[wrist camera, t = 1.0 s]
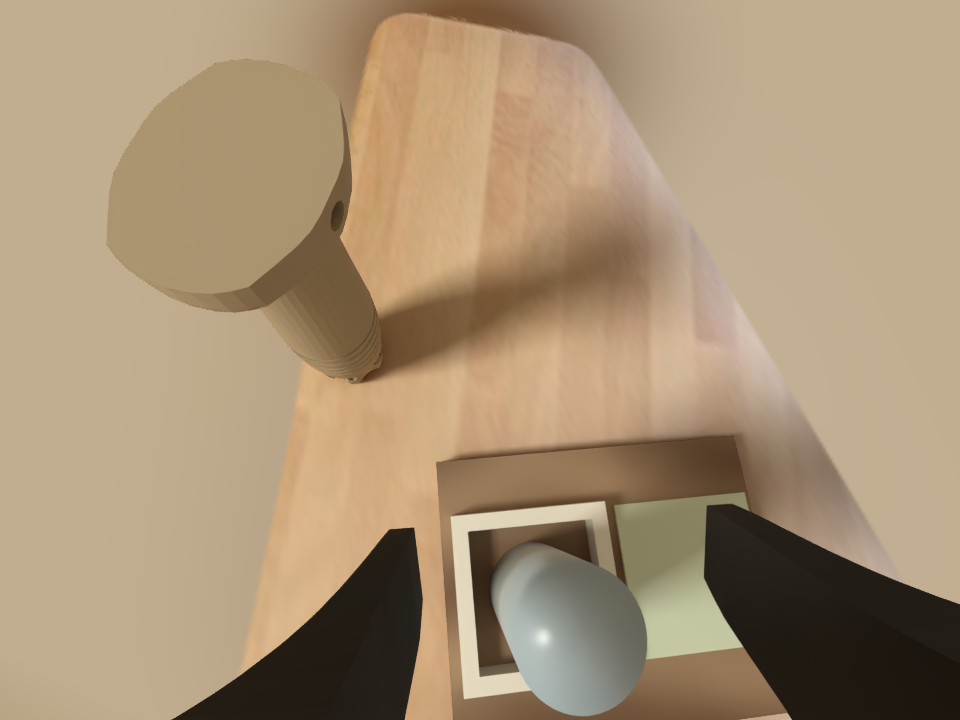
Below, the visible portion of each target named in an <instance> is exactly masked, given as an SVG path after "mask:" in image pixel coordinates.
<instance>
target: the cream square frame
mask: <svg viewBox="0 0 960 720" xmlns="http://www.w3.org/2000/svg"><path fill="white" fill-rule="evenodd" d="M577 520H585V522H586V529H587V535H588V542H589V549H590V556H591V563H592V564H594V565H596V566H599V567H601V568H603V569H605V570H607V571H609V572H611V573H612V574H613V575H615V576H616V577H617V575H616V569H615V562H614V556H613V550H612V544H611V537H610V531H609V525H608V518H607V512H606V506H605V501H595V502H585V503H575V504H565V505H555V506H545V507H534V508H524V509H514V510H504V511H494V512H484V513H474V514H464V515H454V516H451V528H452V542H453V556H454V570H455V584H456V597H457V611H458V625H459V639H460V653H461V667H462V681H463V694H464V699H470V698H477V697H485V696H492V695H500V694H508V693H515V692H523V691H530V690H531V689H530V688H529V687H528V685H527V684H526V683H525V681H524V679H523V677H522V675H521V673H520V671H519V669H518V666H517V664H516V663H509V664H501V665H493V666H486V667H479V663H478V651H477V639H476V626H475V614H474V602H473V589H472V577H471V565H470V552H469V540H468V532H469V531H479V530H488V529H498V528H508V527H518V526H528V525H537V524H547V523H557V522H567V521H577Z"/></svg>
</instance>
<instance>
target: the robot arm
mask: <svg viewBox="0 0 960 720" xmlns="http://www.w3.org/2000/svg"><path fill="white" fill-rule="evenodd" d="M704 579H705V581H706V583H707V586H708V588H709V590H710V592H711V594H712V596H713V598H714V600H715V602H716V604H717V606H718V607H719V609H720V611H721V613H722V615H723V617H724V619H725V620H726V622H727V623H728V625H729V626H730V628H731V629H732V631H733V632H734V634H735V635H736V637H737V638H738V640H739V641H740V643H741V644H742V646H743V647H744V649H745V650H746V652H747V653H748V655H749V656H750V658H751V659H752V661H753V662H754V664H755V665H756V667H757V668H758V670H759V671H760V673H761V674H762V675H763V677H764V678H765V680H766V681H767V683H768V684H769V686H770V687H771V689H772V690H773V692H774V693H775V695H776V696H777V698H778V699H779V701H780V702H781V704H782V705H783V706H784V708H785V709H786V711H787V712H788V714H789V716H790V717H791V719H792V720H960V604H957V603H954V602H952V601H949V600H946V599H943V598H940V597H937V596H935V595H932V594H929V593H927V592H924V591H921V590H919V589H916V588H914V587H911V586H909V585H906V584H903V583H901V582H898V581H896V580H893V579H891V578H888V577H886V576H884V575H881V574H879V573H876V572H874V571H872V570H870V569H867V568H865V567H863V566H861V565H858V564H856V563H854V562H852V561H850V560H847V559H845V558H843V557H841V556H839V555H837V554H834V553H832V552H830V551H828V550H826V549H824V548H822V547H820V546H818V545H816V544H814V543H812V542H810V541H808V540H806V539H804V538H802V537H800V536H798V535H796V534H794V533H792V532H790V531H788V530H786V529H784V528H782V527H780V526H778V525H776V524H774V523H772V522H770V521H768V520H766V519H764V518H762V517H760V516H758V515H756V514H754V513H752V512H750V511H748V510H746V509H743V508H741V507H739V506H736V505H734V504H719V505H707V509H706V533H705V557H704ZM422 602H423V597H422V589H421V580H420V572H419V564H418V555H417V547H416V539H415V531H414V528H402V529H390V530H389V531H388V532H387V533H386V534H385V535H384V536H383V538H382V539H381V540H380V541H379V542H378V544H377V545H376V546H375V547H374V549H373V550H372V551H371V552H370V554H369V555H368V556H367V557H366V559H365V560H364V561H363V562H362V563H361V565H360V566H359V567H358V568H357V569H356V570H355V572H354V573H353V574H352V575H351V576H350V577H349V579H348V580H347V581H346V582H345V583H344V584H343V586H342V587H341V588H340V589H339V590H338V591H337V592H336V593H335V594H334V595H333V596H332V597H331V598H330V599H329V600H328V601H327V602H326V604H325V605H324V606H323V607H322V608H321V609H320V610H319V611H318V612H317V613H316V614H315V615H314V616H313V617H312V618H310V619H309V620H308V621H307V622H306V623H305V624H304V625H303V626H302V627H301V628H299V629H298V630H297V631H296V632H295V633H294V634H293V635H291V636H290V637H289V638H288V639H287V640H286V641H284V642H283V643H282V644H281V645H280V646H278V647H277V648H276V649H274V650H273V651H272V652H271V653H269V654H268V655H267V656H265V657H264V658H263V659H261V660H260V661H259V662H257V663H256V664H255V665H253V666H252V667H251V668H250V669H248V670H247V671H246V672H244V673H243V674H242V675H240V676H239V677H237V678H236V679H235V680H233V681H232V682H230V683H229V684H227V685H226V686H224V687H223V688H221V689H220V690H219V691H217V692H215V693H214V694H212V695H211V696H210V697H208V698H206V699H205V700H203V701H202V702H200V703H198V704H197V705H195V706H194V707H192V708H190V709H189V710H187V711H186V712H184V713H182V714H181V715H179V716H177V717H176V718H174V719H172V720H405V715H406V709H407V704H408V699H409V694H410V689H411V684H412V678H413V673H414V668H415V663H416V657H417V652H418V646H419V641H420V630H421V617H422Z"/></svg>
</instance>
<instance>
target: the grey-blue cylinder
mask: <svg viewBox="0 0 960 720" xmlns="http://www.w3.org/2000/svg"><path fill="white" fill-rule="evenodd" d="M490 598H491V603H492V606H493V609H494V611H495V614H496V616H497V619H498V621H499V623H500V626H501V628H502V630H503V633H504V635H505V638H506V640H507V642H508V645H509V647H510V650H511V652H512V654H513V657H514V659H515V662H516V664H517V666H518V669H519V671H520V673H521V675H522V677H523V679H524V681H525V683H526V684H527V685H528V687H529V688H530V689H531V691H532V692H533V693H534V694H535V695H536V696H537V697H538V698H539V699H540V700H541V701H543V702H544V703H545V704H546V705H548V706H550V707H551V708H553V709H555V710H557V711H560V712H562V713H565V714H569V715H573V716H592V715H597V714H601V713H603V712H606V711H608V710H610V709H612V708H614V707H615V706H617V705H618V704H619V703H621V702H622V701H623V700H624V699H625V698H626V697H627V696H628V695H629V694H630V693H631V691H632V690H633V689H634V687H635V686H636V684H637V682H638V680H639V678H640V676H641V674H642V671H643V668H644V665H645V660H646V654H647V631H646V625H645V621H644V617H643V614H642V611H641V609H640V607H639V604H638V602H637V600H636V599H635V597H634V596H633V594H632V592H631V591H630V590H629V589H628V587H627V586H626V585H625V584H624V583H623V582H622V581H621V580H620V579H619V578H617V577H616V576H615V575H613V574H612V573H611V572H609V571H607V570H605V569H603V568H601V567H599V566H596V565H594V564H592V563H589V562H587V561H585V560H582V559H580V558H577V557H575V556H573V555H570V554H568V553H566V552H563V551H561V550H559V549H556V548H554V547H551V546H549V545H547V544H543V543H539V542H527V543H522V544H519V545H517V546H515V547H513V548H511V549H510V550H508V551H507V552H506V553H505V554H504V555H503V556H502V557H501V558H500V559H499V561H498V562H497V564H496V566H495V568H494V570H493V573H492V576H491V581H490Z"/></svg>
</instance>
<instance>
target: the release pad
mask: <svg viewBox="0 0 960 720" xmlns="http://www.w3.org/2000/svg"><path fill="white" fill-rule="evenodd" d="M719 504H734V505H736V506H739V507H741V508H743V509H746V510H748V511H749V509H748V505H747V501H746V496H745V492H740V493H730V494H720V495H710V496H700V497H690V498H680V499H670V500H660V501H650V502H640V503H630V504H620V505H613V508H614V514H615V520H616V526H617V532H618V538H619V544H620V550H621V557H622V563H623V569H624V575H625V581H626V586H627V587H628V589H629V590H630V591H631V592H632V594H633V596H634V597H635V599H636V600H637V602H638V604H639V607H640V609H641V611H642V614H643V617H644V621H645V625H646V631H647V654H646V660H647V659H654V658H662V657H670V656H678V655H685V654H693V653H701V652H709V651H717V650H724V649H732V648H740V647H743V646H742V644H741V643H740V641H739V640H738V638H737V637H736V635H735V634H734V632H733V631H732V629H731V628H730V626H729V625H728V623H727V622H726V620H725V619H724V617H723V615H722V613H721V611H720V609H719V607H718V606H717V604H716V602H715V600H714V598H713V596H712V594H711V592H710V590H709V588H708V586H707V583H706V581H705V579H704V557H705V533H706V509H707V505H719Z"/></svg>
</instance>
